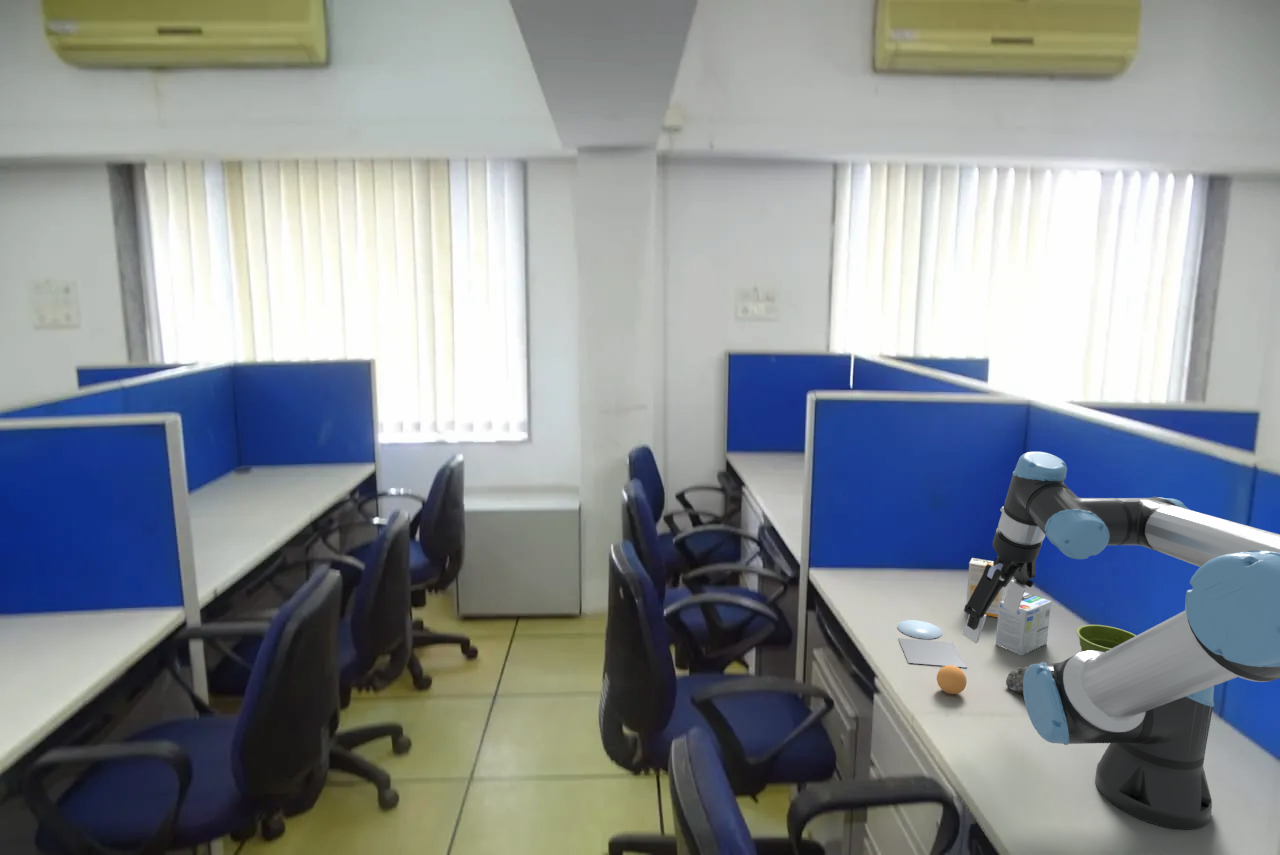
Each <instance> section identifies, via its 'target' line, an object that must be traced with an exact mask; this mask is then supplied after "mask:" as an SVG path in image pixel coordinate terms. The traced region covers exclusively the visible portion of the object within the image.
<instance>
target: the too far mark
mask: <svg viewBox="0 0 1280 855" xmlns="http://www.w3.org/2000/svg"><path fill="white" fill-rule="evenodd" d="M897 630H899V632H901V633H902V632H903V633H902V634H904V635H906V636H909V637H911V636H912V637H911V638H914V637H915V638H914V639H919V638H921V639H920V640H935V639H934V638H936V639H938V637H939V638H940V637H942V635H943V631H942V629H941V628H940V627H939V626H937V625H935V624H934V623H931V622H927V621H924V620H917V619H912V620H911V619H910V620H909V619H908V620H903V621H900V622H898V624H897Z"/></svg>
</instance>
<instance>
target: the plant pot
mask: <svg viewBox="0 0 1280 855" xmlns="http://www.w3.org/2000/svg"><path fill="white" fill-rule="evenodd" d="M1075 632H1076V633H1075V634H1076V635H1077V636H1078V637H1079V638H1078V639H1079V646H1080V648H1081V649H1080V650H1081V652H1084V651H1092V650H1094V651H1100V652H1106V651H1108V650H1110V649H1112V648H1114V647H1116V646H1118V645H1120V644H1122V643H1124V642H1125V641H1127V640H1129V639H1131V638H1133V637H1135V636H1137V635H1136V634H1134V633H1132V632H1130V631H1127V630H1124V629H1122V628H1117V627H1114V626H1109V625H1102V624H1087V625H1082V626H1079V627H1078V628H1077V629H1076V630H1075Z"/></svg>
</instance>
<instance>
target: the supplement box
mask: <svg viewBox="0 0 1280 855" xmlns="http://www.w3.org/2000/svg"><path fill="white" fill-rule="evenodd" d="M994 561H995V560H994ZM994 561H993V560H987V559H981V558H975V557H972V558H971V559H970V561H969V562H968V574H967V575H968V576H967V589H966V591H967V592H966V604H965V605H967V603H968V601H969V600H970V598H971V596H972V594H973V592H974V590H975V588H976V586H977V585H978V583H979V581H980V579H981V577H982V575H983V572H984V570H985V567H986V565H987V564H990V565H991V566H993V565H994V564H993V562H994ZM1000 580H1001V581H1004V579H1002V578H1000ZM1004 596H1005V587H1002V588H1001V590H1000V591H999V593H998V594H997V596H996V597H995V599H994V601H993V602H992V604H991V605H990V607H989V608H988V610H987V611H986V613H985V615H987V616H990V617H994V618H998V611H999V602H1000V601H1004V600H1005V597H1004Z"/></svg>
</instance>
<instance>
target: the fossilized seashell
mask: <svg viewBox="0 0 1280 855" xmlns="http://www.w3.org/2000/svg"><path fill="white" fill-rule="evenodd" d="M1029 666H1030V665H1027V666H1025V667H1024V666H1023V667H1018V669H1017V670H1011V671H1010V672H1009V673H1008V675H1007V677H1006V680H1005V685H1006V686H1007V687H1008V688H1009V689H1010V690H1012V691H1015V692H1017V693H1019V694H1023V679H1024V674H1025V671H1026V669H1027V668H1028V667H1029Z"/></svg>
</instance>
